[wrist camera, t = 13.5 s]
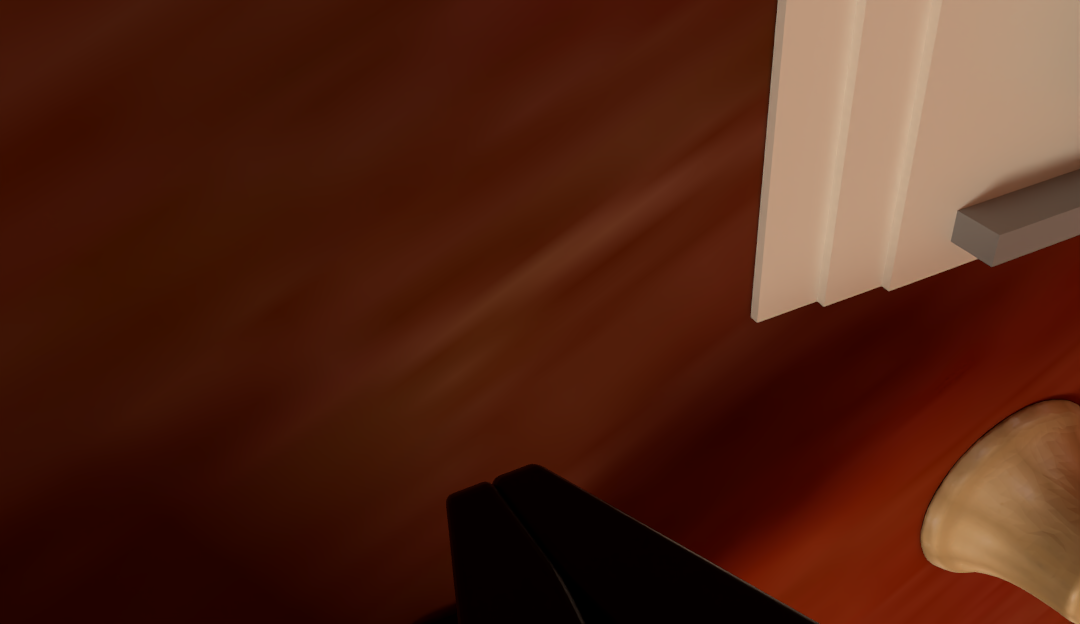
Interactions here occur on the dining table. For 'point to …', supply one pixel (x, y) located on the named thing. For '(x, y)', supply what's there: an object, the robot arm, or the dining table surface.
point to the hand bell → (1016, 506)
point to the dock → (914, 142)
